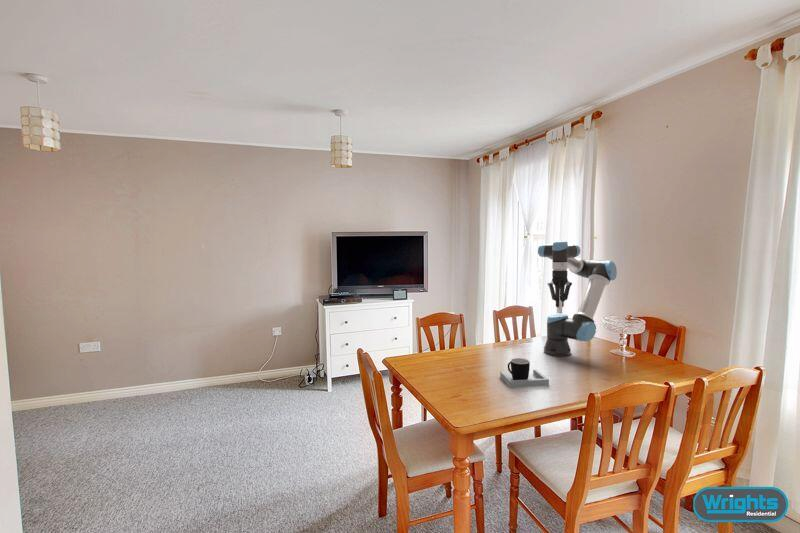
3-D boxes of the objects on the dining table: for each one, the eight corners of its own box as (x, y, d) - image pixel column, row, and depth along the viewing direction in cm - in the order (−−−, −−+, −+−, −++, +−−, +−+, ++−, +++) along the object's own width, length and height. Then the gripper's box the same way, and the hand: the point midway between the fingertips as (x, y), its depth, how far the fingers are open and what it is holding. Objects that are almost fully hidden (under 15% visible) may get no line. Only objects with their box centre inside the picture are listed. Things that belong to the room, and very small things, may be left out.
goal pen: (500, 377, 194) (500, 371, 194) (536, 374, 196) (536, 369, 195) (510, 387, 180) (510, 381, 180) (548, 385, 182) (548, 379, 181)
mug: (533, 381, 187) (533, 361, 186) (521, 385, 182) (521, 365, 181) (513, 374, 197) (513, 355, 196) (502, 378, 192) (502, 358, 191)
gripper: (551, 270, 200) (551, 314, 202) (575, 270, 201) (574, 313, 203) (544, 269, 207) (544, 312, 209) (567, 268, 208) (567, 311, 210)
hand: (559, 312), depth 206 cm, fingers closed
